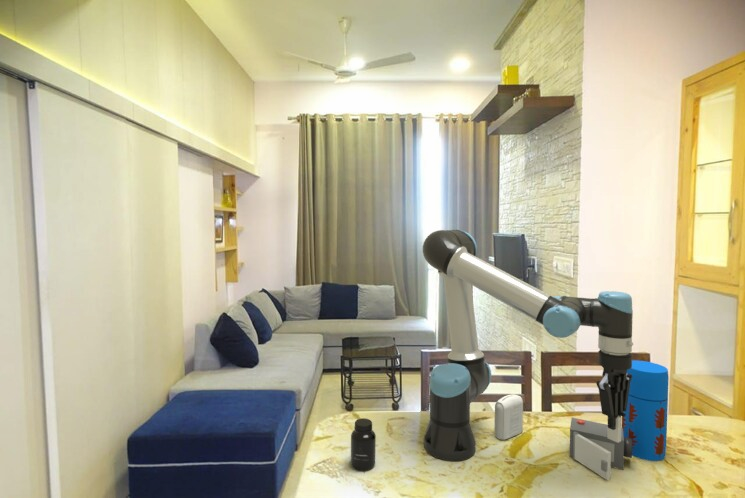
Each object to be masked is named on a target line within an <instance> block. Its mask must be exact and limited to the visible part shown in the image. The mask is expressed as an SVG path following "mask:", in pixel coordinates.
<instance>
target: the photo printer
mask: <svg viewBox="0 0 745 498" xmlns="http://www.w3.org/2000/svg"><path fill="white" fill-rule="evenodd" d="M523 400H524V399H523V398H522V397H521V396H520V395H518V394H508V395H505V396H501V398H500V399H498V400H497V401H496V402H495V404H494V435H495V437H496V438H497V439H499V440H502V441H503V440H508V439H510V438H513V437H515V436H517V435H519V434H521V433H523V430H524V429H523V425H524V424H523V423H524V422H523V421H524V420H523V419H524V417H523V416H524V415H523V414H524V401H523Z"/></svg>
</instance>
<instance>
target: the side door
mask: <svg viewBox="0 0 745 498" xmlns="http://www.w3.org/2000/svg"><path fill="white" fill-rule="evenodd" d="M572 459H573V460H575V461H577V462H579V463H580V464H582V465H584V466H585V467H586V468H587V469H590V470H591V471H593V472H594V473H596V474H597V475H599V476H600V477H601V478H603V479H604V480H606V481H607V480H610V479H611V468H612V467H611V452H609V451H608V450H606V449H604V448H602V447H601V446H599V445H597V444H596V443H594V442H592V441H590V440H589V439H587V438H585V437H583V436H582V435H580V434H578V432H573V457H572Z"/></svg>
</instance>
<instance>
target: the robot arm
mask: <svg viewBox="0 0 745 498" xmlns="http://www.w3.org/2000/svg"><path fill="white" fill-rule="evenodd" d="M477 252H478V245H477V243H476V240H475V238H474V237H473V236H472V235H471V234H470V233H468V232H466V231H465V230H460V229H449V230H446V229H445V230H444V229H441V230H436V231H433V232H431V233H430V234H428V236H427V237H426V238H425V239H424V241H423V244H422V254H423V257H424V258H423V259H425V261H426V262H427V264H429V265H430V266H431V267H433V268H434V269H436V270H437V273H438V275H440V276H441V277H442V278H443V284H444V285H443V286H444V287H443V288H444V296H445V303H446V305H445V306H446V311H447V312H446V313H447V314H446V315H447V322H448V330H449V339H450V346H451V347H450V349H451V350H450V352H449V353H448V354H447V363H445V364H443V363H442V364H439V365H436V366H435V367H434V368H433V369H432V370H431V371H430V374H429V375H430V376H429V377H430V378H429V382H428V383H429V420H428V423H427V427H426V431H425V433H424V435H423V447H424V449H425V452H427V453H428V454H429V455H431V456H432V457H435V458H438V459H441V460H444V461H447V462H448V461H449V462H450V461H451V462H458V461H465V460H468V459H470V458H472V457H473V456H474V455H475V453H476V450H477V449H476V447H477V443H476V439H475V434H474V432H473V430H472V426H471V423H470V422H471V421H470V420H471V415H470V414H471V404H472V402H473V401H475V399H477V398H478V397H479V396H480V395H482V394H483V393H485V391H486V390H487V389H488V387H489V385H490V383H491V381H492V370H491V367H490V364H489V363H488V362H487V361H486V359H485V354H484V353H483V351H481V350H480V348H479V342H478V334H477V333H478V332H477V323H476V317H475V308H474V297H473V289H472V286H473V287H475V288H477V289H478V290H481V292H483V293H486V294H487V295H489V296H491V297H493V298H494V299H496V300H498V301H500V302H502V303H503V304H505V305H506V306H509V307H511V308H512V309H514V310H516V311H518V312H519V313H522V315H524V316H526V317H529V318H530V319H532V320H533V321H535V322H537V323H539V324H541V325H543V328H544V329H545V330H546V332H547V333H548V334H549V335H551V337H555V338H560V339H564V338H568V337H570V336H572V335H574V334H575V333H576V332H577V331H578V330H579V328H580V327H581V326H583V327H591V328H592V327H593V328H594V327H595V328H598V339H597V341H598V344H597V348H598V349H599V350H598V352H597V353H598V356H597V357H598V358H597V359H598V361H597V362H598V364H599V366H601V367H602V369H603V370H602V373H601V374H602V375H601V376H602V379H601V380H597V381H596V386H597V389H598V394H599V395H598V396H599V400H600V401H599V403H600V407H601V408H600V409H601V414H602V415H604V416H607V425H608V436H607V438H608V439H610V440H613V441H615V442H617V443H619V442H621V428H622V416H623V417H625V416H626V414H625V413H623V411H625V412H626V410H627V403H628V396H629V388H630V382H631V379H632V375H631V374H628V373H627V370H629V369H631V367H632V360H633V355H632V354H631V353H632V351H633V349H632V348H633V346H634V342H633V313H634V312H633V311H634V310H633V298H632V296H631V295H630V294H629V293H627V292H624V291H617V290H615V291H614V290H613V291H610V290H607V291H606V290H604V291H600V292H599V294H598V297H597V298H586V297H576V296H567V295H562V296H561V295H554V296H551V295H550V294H549V293H546V292H545V291H542V290H541V289H539V288H537V287H535V286H533V285H531V284H529V283H527V282H525V281H523V280H522V279H519V278H517V277H516V276H514V275H512V274H511V273H508V272H507V271H504V270H503V269H501V268H498V267H497V266H495V265H493V264H491V263H488V262H487V261H485V260H484V259H481V258H479V257H477V256H476V255H477Z"/></svg>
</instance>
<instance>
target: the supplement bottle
mask: <svg viewBox="0 0 745 498" xmlns="http://www.w3.org/2000/svg"><path fill="white" fill-rule="evenodd" d="M376 436H377V435H376V433H375V431H374V430H373V421H372V420H371V419H369V418H363V417H362V418H357V419H356V420H355V421H354V429H353V431H352V432H351V434H350V465H351V467H352V468H353V470H356V471H359V472H366V471H369V470H372V469H373V468H374V467H375V465H376V447H377V446H376V441H377V439H376Z"/></svg>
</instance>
